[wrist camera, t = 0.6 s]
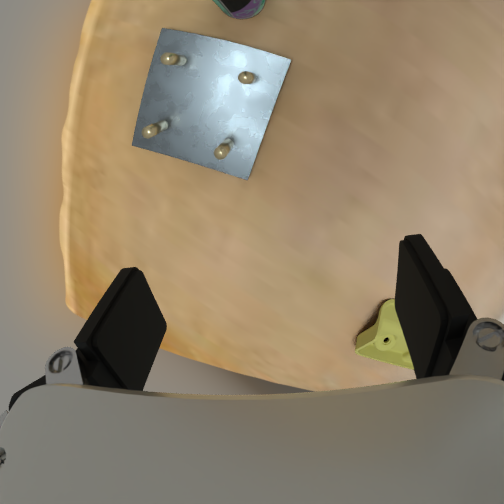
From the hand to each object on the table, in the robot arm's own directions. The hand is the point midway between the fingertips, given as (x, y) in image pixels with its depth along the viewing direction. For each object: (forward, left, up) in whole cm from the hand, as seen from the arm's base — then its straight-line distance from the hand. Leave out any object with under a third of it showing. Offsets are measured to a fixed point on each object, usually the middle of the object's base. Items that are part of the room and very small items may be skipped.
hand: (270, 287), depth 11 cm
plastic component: (+24, +34, -31) cm, 52 cm away
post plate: (-1, -10, -30) cm, 32 cm away
